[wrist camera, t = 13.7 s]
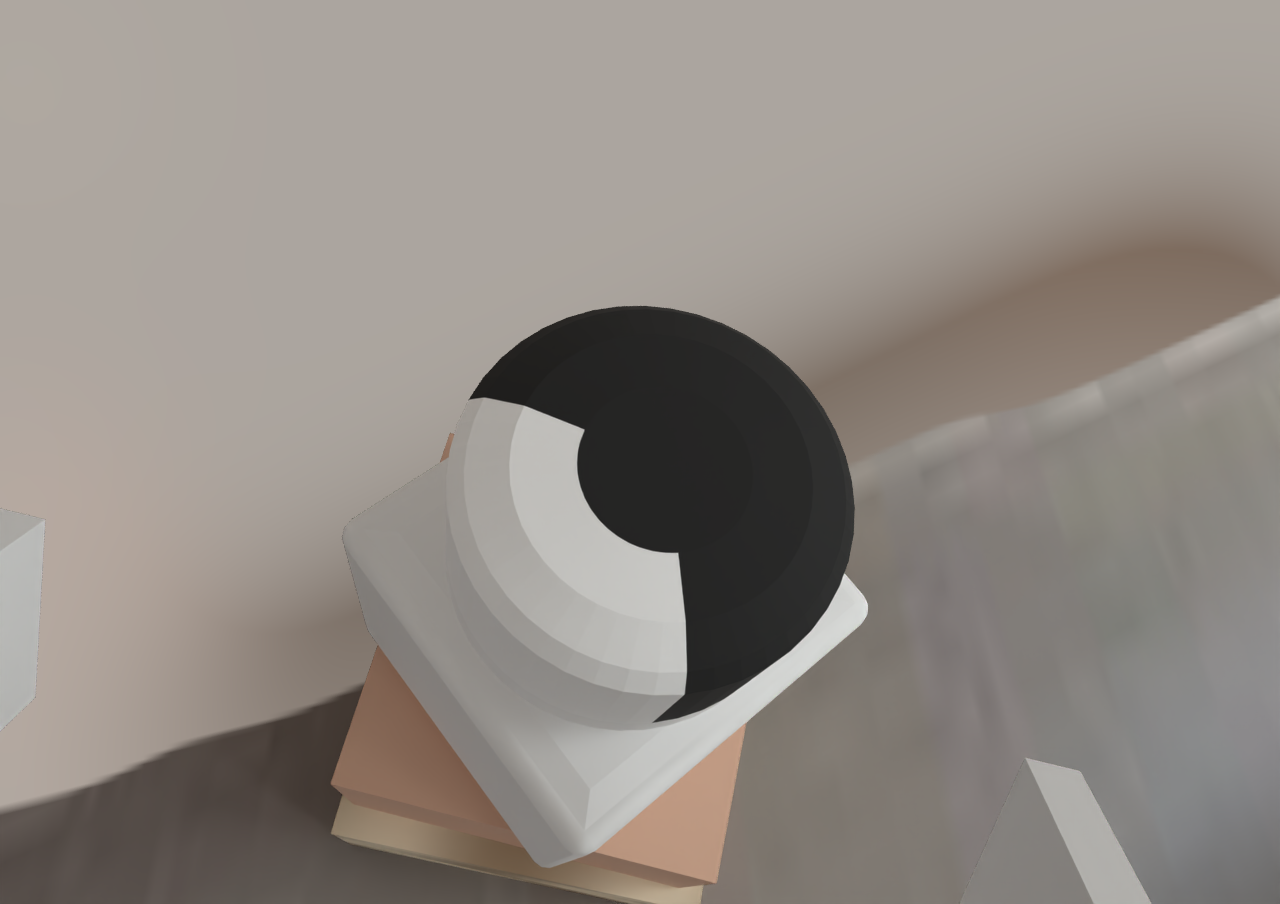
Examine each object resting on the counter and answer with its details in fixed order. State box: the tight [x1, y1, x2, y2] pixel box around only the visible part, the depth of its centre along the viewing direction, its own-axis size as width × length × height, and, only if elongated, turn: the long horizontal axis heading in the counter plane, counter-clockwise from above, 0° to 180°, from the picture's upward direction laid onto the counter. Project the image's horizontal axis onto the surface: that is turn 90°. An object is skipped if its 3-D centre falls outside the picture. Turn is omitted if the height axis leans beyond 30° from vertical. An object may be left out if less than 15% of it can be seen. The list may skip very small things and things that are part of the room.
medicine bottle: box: [342, 306, 868, 868], centre depth 20 cm, size 7×7×12 cm
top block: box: [331, 433, 746, 888], centre depth 28 cm, size 9×9×5 cm
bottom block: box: [331, 794, 703, 904], centre depth 33 cm, size 10×10×5 cm
